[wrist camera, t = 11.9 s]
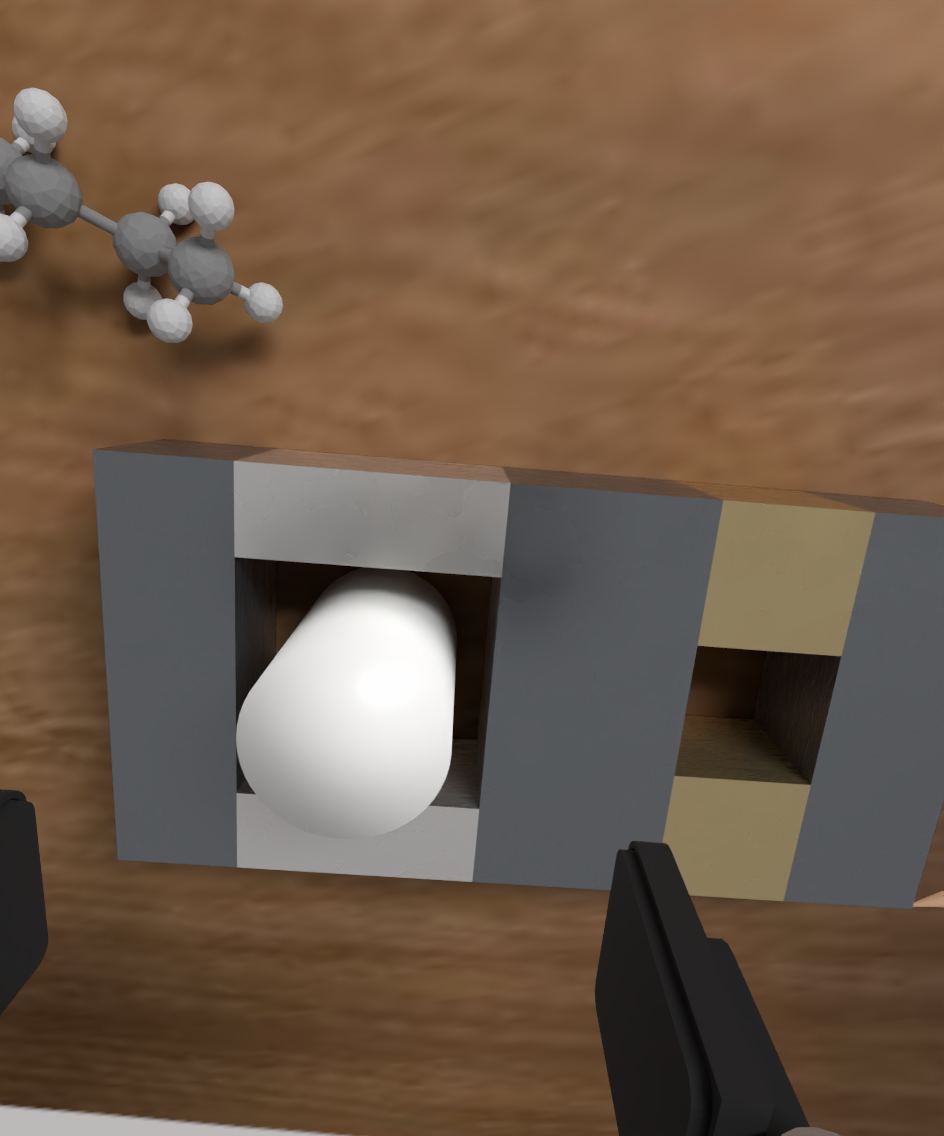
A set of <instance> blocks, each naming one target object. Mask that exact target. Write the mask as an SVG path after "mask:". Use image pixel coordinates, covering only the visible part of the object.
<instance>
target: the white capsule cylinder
mask: <svg viewBox="0 0 944 1136" xmlns="http://www.w3.org/2000/svg"><path fill="white" fill-rule="evenodd" d="M456 652H457V631H456V624H455V621H454V617H453V614H452V612H451V610H450V607H449V606H448V604H447V602H446V601H445V599H444V598H443V597H442V595H441V594H440V593H439V592H438V591H437V590H436V589H435V588H434V587H433V586H432V585H431V584H430V583H428V582H427V581H426V580H424V579H423V578H421V577H419V576H417V575H416V574H414V573H411V572H409V571H406V570H397V569H384V568H371V567H365V568H361V569H357V570H354V571H351V572H349V573H346V574H345V575H343V576H341V577H339V578H338V579H336V580H335V581H334V582H332V583H331V584H330V585H329V586H328V587H327V588H326V589H325V590H324V591H323V592H322V594H321V595H320V596H319V598H318V599H317V600H316V602H315V603H314V604H313V606H312V607H311V608H310V610H309V611H308V613H307V614H306V615H305V617H304V618H303V619H302V621H301V622H300V623H299V625H298V626H297V627H296V629H295V630H294V632H293V633H292V634H291V636H290V637H289V638H288V640H287V641H286V642H285V644H284V645H283V647H282V648H281V649H280V651H279V652H278V653H277V655H276V656H275V657H274V659H273V660H272V662H271V663H270V664H269V666H268V667H267V668H266V670H265V671H264V672H263V674H262V675H261V677H260V678H259V679H258V681H257V682H256V683H255V685H254V686H253V687H252V689H251V690H250V692H249V694H248V695H247V697H246V699H245V701H244V703H243V706H242V708H241V711H240V714H239V718H238V723H237V731H236V745H237V753H238V758H239V762H240V765H241V768H242V771H243V773H244V776H245V778H246V779H247V781H248V783H249V785H250V787H251V788H252V790H253V791H254V792H255V794H256V795H257V796H258V798H259V799H260V800H261V801H262V802H263V803H264V804H265V805H266V806H267V807H268V808H269V809H270V810H271V811H272V812H274V813H275V814H276V815H277V816H279V817H280V818H282V819H283V820H285V821H286V822H288V823H289V824H291V825H293V826H296V827H298V828H300V829H302V830H304V831H307V832H310V833H313V834H316V835H320V836H325V837H330V838H338V839H359V838H368V837H373V836H377V835H382V834H384V833H387V832H390V831H393V830H395V829H397V828H399V827H401V826H403V825H405V824H407V823H408V822H410V821H411V820H413V819H414V818H416V817H417V816H418V815H419V814H420V813H422V812H423V811H424V810H425V809H426V808H427V807H428V806H429V804H430V803H431V802H432V801H433V800H434V799H435V797H436V796H437V794H438V792H439V791H440V789H441V787H442V785H443V783H444V781H445V779H446V776H447V773H448V770H449V766H450V760H451V754H452V733H453V713H454V693H455V672H456Z"/></svg>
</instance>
